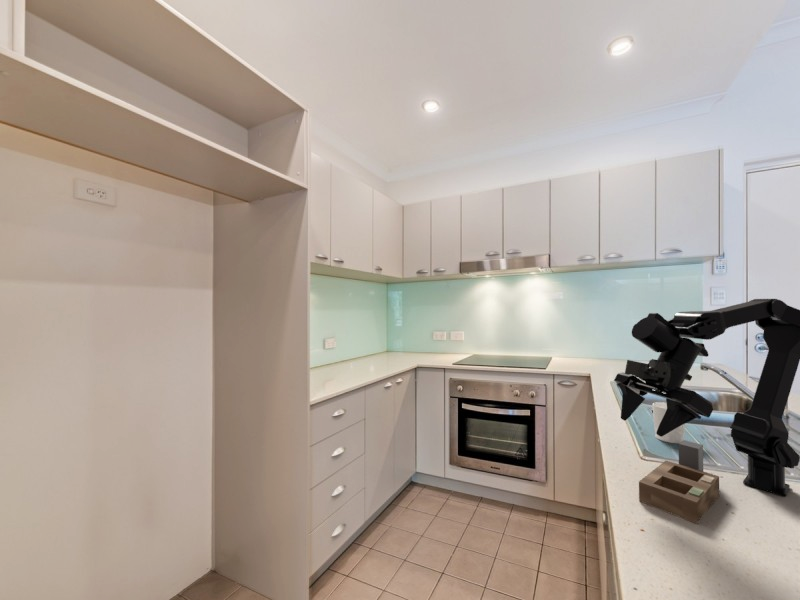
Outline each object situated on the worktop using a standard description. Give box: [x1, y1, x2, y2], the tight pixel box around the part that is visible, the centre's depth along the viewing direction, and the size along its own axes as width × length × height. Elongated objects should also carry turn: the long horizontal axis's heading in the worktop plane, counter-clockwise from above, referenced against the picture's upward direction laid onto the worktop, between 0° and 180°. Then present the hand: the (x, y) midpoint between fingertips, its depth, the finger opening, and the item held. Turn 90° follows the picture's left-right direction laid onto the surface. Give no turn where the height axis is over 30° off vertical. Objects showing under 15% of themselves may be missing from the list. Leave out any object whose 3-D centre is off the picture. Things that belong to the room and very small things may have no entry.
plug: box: [678, 439, 704, 472], centre depth 81 cm, size 4×4×8 cm
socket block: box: [638, 460, 720, 525], centre depth 73 cm, size 16×9×4 cm, turn 126°
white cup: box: [652, 401, 686, 444], centre depth 104 cm, size 8×8×10 cm
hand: (639, 427), depth 73 cm, fingers open, 9 cm apart
